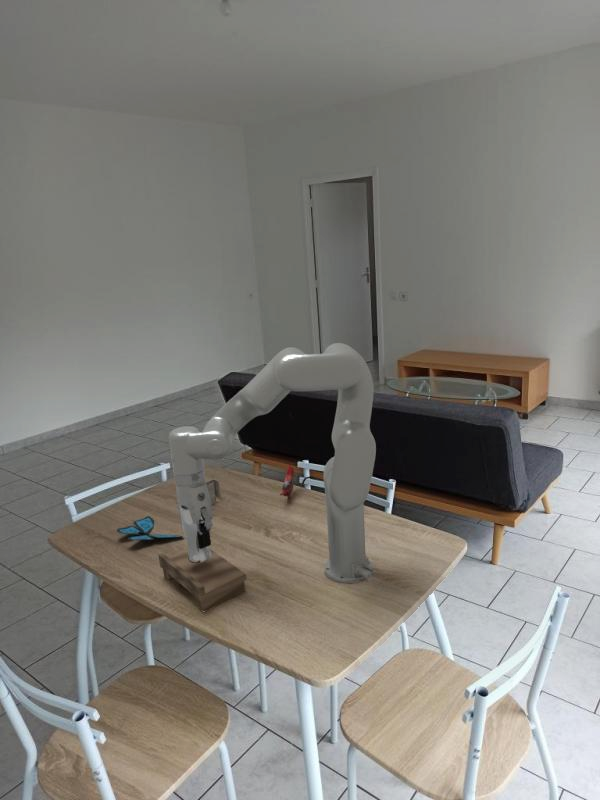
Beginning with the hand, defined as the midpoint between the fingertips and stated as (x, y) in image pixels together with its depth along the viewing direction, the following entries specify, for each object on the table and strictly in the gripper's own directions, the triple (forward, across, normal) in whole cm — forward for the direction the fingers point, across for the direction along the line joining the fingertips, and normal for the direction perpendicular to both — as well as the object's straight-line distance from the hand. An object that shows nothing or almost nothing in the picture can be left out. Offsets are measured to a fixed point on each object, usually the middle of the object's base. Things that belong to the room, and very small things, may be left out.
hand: (197, 541), depth 148 cm
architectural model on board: (+13, +41, -25) cm, 50 cm away
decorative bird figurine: (+13, +23, -46) cm, 53 cm away
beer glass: (+5, 0, 0) cm, 5 cm away
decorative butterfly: (+13, +35, -1) cm, 38 cm away
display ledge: (+13, 0, 0) cm, 13 cm away
